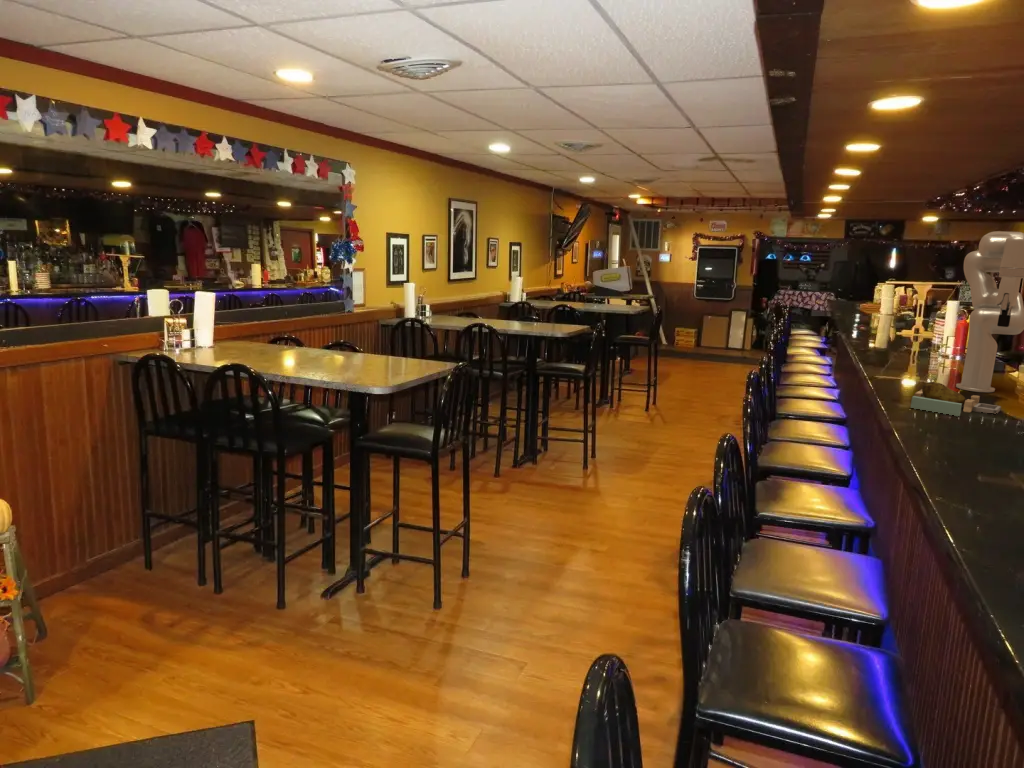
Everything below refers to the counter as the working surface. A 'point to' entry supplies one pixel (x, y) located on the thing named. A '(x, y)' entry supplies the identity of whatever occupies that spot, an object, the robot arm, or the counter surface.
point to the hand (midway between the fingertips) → (1002, 326)
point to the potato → (941, 393)
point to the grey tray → (986, 408)
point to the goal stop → (936, 405)
